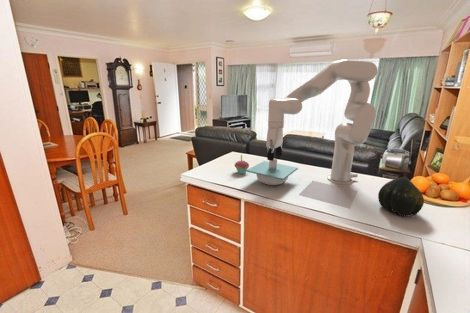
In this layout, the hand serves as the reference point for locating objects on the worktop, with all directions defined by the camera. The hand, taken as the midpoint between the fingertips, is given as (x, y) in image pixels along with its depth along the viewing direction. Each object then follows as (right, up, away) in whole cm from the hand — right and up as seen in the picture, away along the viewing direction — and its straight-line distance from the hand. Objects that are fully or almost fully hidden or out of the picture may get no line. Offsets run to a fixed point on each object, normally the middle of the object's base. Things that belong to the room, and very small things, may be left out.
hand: (274, 157), depth 120 cm
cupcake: (-17, -9, +18) cm, 26 cm away
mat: (+24, -17, -8) cm, 31 cm away
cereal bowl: (-1, -13, +4) cm, 14 cm away
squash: (+47, -22, -23) cm, 57 cm away
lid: (-1, -7, +2) cm, 7 cm away
